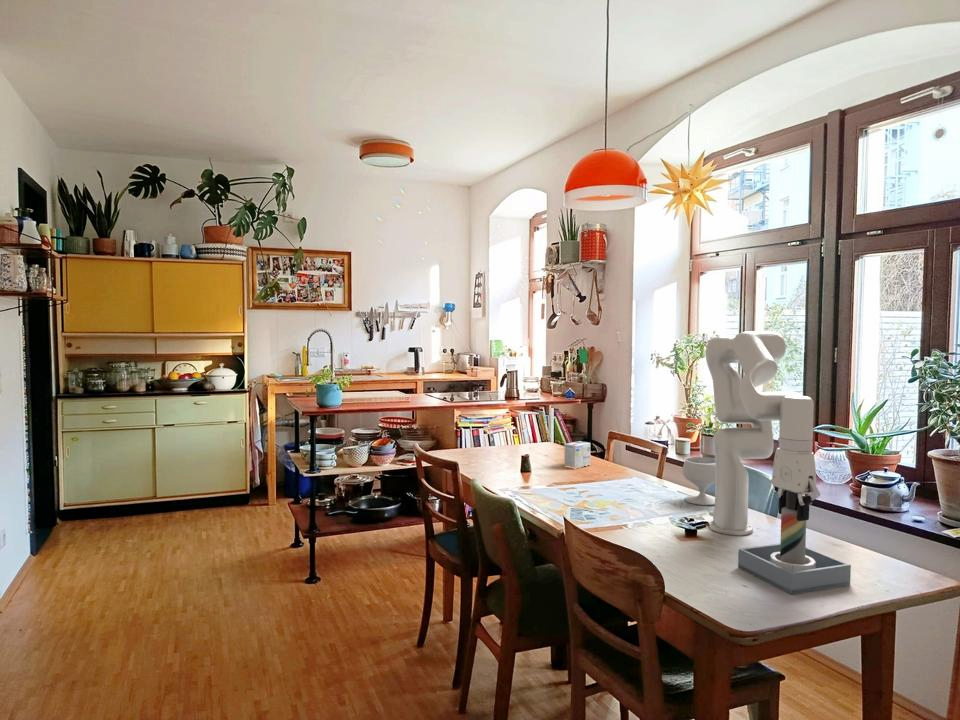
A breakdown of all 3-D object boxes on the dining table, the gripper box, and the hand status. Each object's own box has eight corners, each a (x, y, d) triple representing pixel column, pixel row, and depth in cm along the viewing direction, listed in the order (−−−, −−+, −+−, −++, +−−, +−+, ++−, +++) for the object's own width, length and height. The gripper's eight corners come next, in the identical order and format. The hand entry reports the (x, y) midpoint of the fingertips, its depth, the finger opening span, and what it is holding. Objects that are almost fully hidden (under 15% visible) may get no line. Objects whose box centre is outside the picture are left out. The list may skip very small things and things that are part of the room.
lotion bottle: (783, 562, 168) (785, 486, 166) (807, 567, 164) (809, 489, 163) (777, 569, 163) (779, 490, 162) (801, 574, 160) (803, 494, 158)
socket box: (738, 567, 169) (738, 548, 169) (793, 559, 175) (793, 541, 175) (791, 594, 152) (791, 573, 152) (850, 585, 158) (850, 564, 158)
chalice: (707, 509, 223) (708, 466, 223) (673, 500, 235) (674, 459, 234) (731, 502, 232) (731, 461, 231) (697, 494, 243) (698, 454, 242)
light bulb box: (579, 464, 297) (579, 440, 296) (591, 466, 292) (591, 442, 291) (563, 467, 290) (563, 443, 289) (574, 469, 285) (575, 445, 284)
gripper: (758, 440, 169) (756, 508, 170) (811, 452, 153) (808, 528, 154) (781, 438, 171) (779, 506, 172) (835, 450, 155) (833, 525, 156)
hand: (793, 516), depth 163 cm, fingers closed on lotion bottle, 5 cm apart
